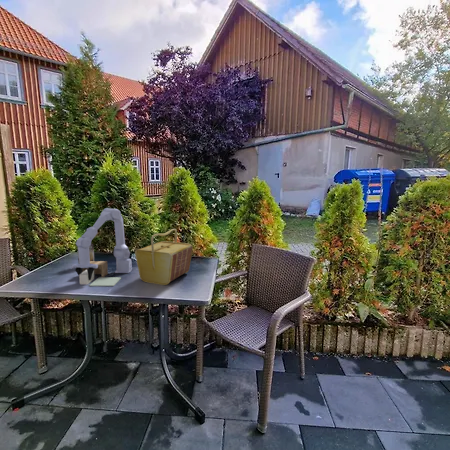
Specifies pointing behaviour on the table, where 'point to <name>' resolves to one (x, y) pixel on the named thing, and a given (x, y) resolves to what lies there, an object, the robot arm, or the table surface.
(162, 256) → the picnic basket
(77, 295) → the table surface
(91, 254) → the coffee box
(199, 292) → the table surface
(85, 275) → the cream block
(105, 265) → the wooden box
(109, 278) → the pale green panel
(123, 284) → the table surface
